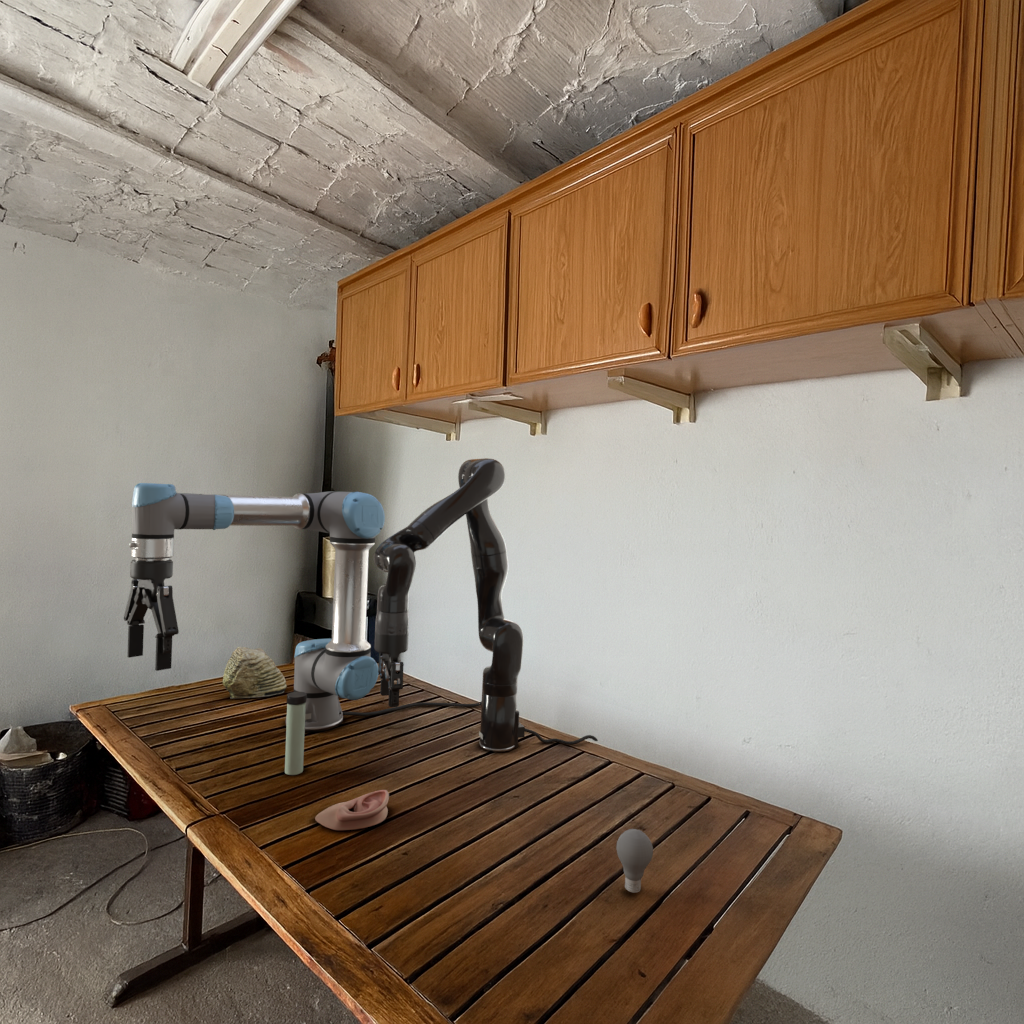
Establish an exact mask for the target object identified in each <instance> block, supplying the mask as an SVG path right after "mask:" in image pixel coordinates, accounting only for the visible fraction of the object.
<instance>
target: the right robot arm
mask: <svg viewBox="0 0 1024 1024" xmlns="http://www.w3.org/2000/svg"><path fill="white" fill-rule="evenodd" d="M457 479H458V487H459V488H458V489H456V490H455V491H454V492H452V493H450V494H448V495H447V496H446V497H444V498H442V499H440V500H438V501H436V502H435V503H433V504H431V505H430V506H429V507H427V508H425V510H424V511H423V512H421V513H420V514H419V515H418V516H417V517H415V518H414V519H413V520H412V521H411V523H409V524H408V525H407V526H405V527H404V528H403V529H400V530H398V531H397V532H395V533H394V534H392V535H391V536H389V537H387V538H386V539H385V540H384V541H382V542H381V543H380V544H379V545H378V546H377V548H376V550H375V551H374V554H373V563H374V565H375V567H376V569H378V570H379V571H381V572H384V573H387V576H386V581H385V583H384V584H381V585H380V586H379V588H378V591H377V601H376V602H377V603H376V604H377V605H376V616H375V624H374V625H375V626H374V627H375V628H374V651H375V652H377V653H379V654H378V655H379V656H378V668H379V669H378V673H379V674H378V675H379V679H380V689H379V690H380V695H381V696H382V697H384V696H385V697H387V696H388V703H387V705H388V707H389V708H394V707H398V706H400V705H399V704H400V690H404V689H403V688H404V665H405V663H404V662H403V661H402V659H400V654H402V653H403V654H404V653H406V652H407V651H408V649H409V633H410V629H409V628H410V617H409V604H410V603H409V602H410V600H409V599H410V591H411V587H412V584H413V581H414V577H415V573H416V569H417V557H416V552H419V551H424V550H426V549H428V548H430V546H432V545H433V544H434V543H435V542H436V541H437V540H439V538H440V537H441V536H442V535H444V533H445V532H447V531H448V529H450V528H451V527H452V526H453V525H454V524H456V522H458V520H460V519H462V517H464V516H465V517H466V518H465V519H466V525H467V531H468V537H469V544H470V545H469V546H470V556H471V563H472V570H473V576H474V583H475V584H474V585H475V593H476V601H477V627H478V629H477V630H478V638H479V642H480V644H481V646H482V647H483V648H484V649H485V650H486V651H488V652H490V653H492V658H491V665H488V666H486V667H485V668H483V671H482V683H481V684H482V685H481V701H482V704H481V705H480V706H481V707H480V729H479V731H478V737H479V747H480V748H481V749H482V750H485V751H487V752H493V753H505V752H506V753H507V752H509V751H512V750H513V749H517V748H518V747H519V738H520V739H521V738H525V734H526V733H528V734H530V735H533V736H535V737H536V738H537V739H538V740H539V742H541V743H544V744H549V743H559V744H562V745H566V746H574V745H578V744H580V743H582V742H583V741H586V740H588V739H590V740H593V741H594V742H598V741H599V740H598V738H597V737H595V736H594V735H591V734H587V735H583V736H582V737H580V738H578V739H576V740H575V739H574V740H572V741H571V740H570V741H567V740H564V739H559V738H548V739H544V738H542V736H541V735H540V734H539V733H537V732H536V731H534V730H532V729H529V728H526V727H525V726H524V725H523V724H522V723H521V722H520V710H518V709H517V706H518V705H517V702H518V681H519V674H520V672H521V670H522V665H523V654H524V644H525V643H524V641H525V639H524V638H525V637H524V631H523V628H522V627H521V626H520V624H518V623H517V622H515V621H512V620H511V619H510V620H509V619H506V618H505V613H504V606H503V591H504V588H505V585H506V581H507V578H508V574H509V558H508V550H507V549H508V548H507V544H506V541H505V538H504V536H503V534H502V532H501V530H500V529H499V527H498V525H497V523H496V521H495V519H494V518H493V515H492V513H491V510H490V505H489V498H491V497H492V496H494V495H496V493H498V492H499V491H500V490H501V489H502V488H503V486H504V484H505V482H506V470H505V468H504V466H503V464H502V463H501V462H500V461H498V460H497V459H494V458H487V457H486V458H485V457H484V458H472V459H467V460H465V461H464V462H463V463H462V464H461V465H460V467H459V470H458V475H457ZM395 682H396V683H395Z"/></svg>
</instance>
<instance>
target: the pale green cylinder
mask: <svg viewBox="0 0 1024 1024" xmlns="http://www.w3.org/2000/svg"><path fill="white" fill-rule="evenodd" d="M305 707H306V702H305V703H303V704H299V705H291V704H288V703H287V702H286V715H287V724H286V723H285V727H286V728H285V730H286V731H285V751H284V752H285V755H284V774H286V775H289V776H296V775H299V774H302V773H303V771H304V759H305V758H304V757H305V756H304V755H305V735H306V732H305Z"/></svg>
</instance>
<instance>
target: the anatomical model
mask: <svg viewBox="0 0 1024 1024" xmlns="http://www.w3.org/2000/svg"><path fill="white" fill-rule="evenodd" d="M389 799H390V793H389V791H388V790H387V789H380V790H375V791H372V792H368V793H366V794H363V795H361V796H358V797H355V798H353V799H351V800H348V801H344V802H338V803H336V804H332V805H330V806H328V807H327V808H325V809H323V810H321V811H320V812H318V814H317V815H315V817H314V819H315V820H314V821H315V822H317V823H318V824H319V825H322V826H323V827H325V828H327V829H331V830H333V831H350V830H351V831H353V830H360V829H365V828H368V827H373V826H375V825H379V824H381V823H382V822H384V821H385V820H386V819H387V816H388V813H389V812H388V811H389V809H388V807H387V805H388V803H389Z"/></svg>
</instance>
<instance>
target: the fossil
mask: <svg viewBox="0 0 1024 1024" xmlns="http://www.w3.org/2000/svg"><path fill="white" fill-rule="evenodd" d="M222 676H223V677H222V685H223V687H224V688H225V690H226V691H228V693H229V698H230V699H250V698H264V697H271V696H275V695H281V694H284V693H285V691H286V689H287V687H288V686H287V680H286V678H285V676H284V674H283V673H282V672H281V669H279V668H278V667H277V665H276V663H275V662H274V660H273V659H272V658H271V657H270V656H269V655H268V654H267V653H266V652H265V650H264V649H263V648H260V647H258V648H251V647H247V646H246V647H245V646H238V647H237V648H236V649H235V650H233V651H232V653H231V656H230V657H229V659H228V660H227V663H226V666H225V668H224V671H223V675H222Z"/></svg>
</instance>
